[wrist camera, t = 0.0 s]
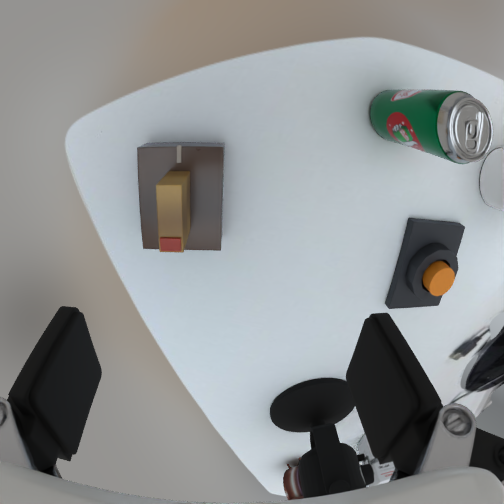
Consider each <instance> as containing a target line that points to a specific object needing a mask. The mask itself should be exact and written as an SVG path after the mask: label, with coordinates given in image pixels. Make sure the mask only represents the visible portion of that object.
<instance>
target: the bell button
mask: <svg viewBox="0 0 504 504" xmlns="http://www.w3.org/2000/svg"><path fill="white" fill-rule="evenodd" d="M454 279H455V274H454V271H453V270H452V269H451V268H450V267H449V266H448V265H447V264H446V263H445V262H443V261H435V262H433V263H432V264H430V265H429V267H428V268H427V269H426V270H425V272H424V274H423V279H422V281H423V285H424V286H425V287H426V288H427V290H428V291H429V292H430V293H431V294H432V295H434V296H440V295H443V294H444V293H446V292H447V291H448V290H449V289H450V288H451V286H452V284H453V282H454Z"/></svg>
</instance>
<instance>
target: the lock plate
mask: <svg viewBox="0 0 504 504" xmlns="http://www.w3.org/2000/svg"><path fill="white" fill-rule="evenodd" d="M224 145H225V144H224V143H209V142H173V143H146V144H144V145H142V146H140V147H138V148H137V152H138V183H139V201H140V216H141V229H142V240H143V249H159V236H158V220H157V200H156V185H157V183H158V182H159V181H160V180H161V179H162V178H163V177H164V176H165V175H166V174H167V172H169V171H190V227H191V229H190V232H189V235H188V239H187V242H186V245H185V249H184V250H221V239H222V202H223V171H224Z"/></svg>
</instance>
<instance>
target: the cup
mask: <svg viewBox="0 0 504 504" xmlns="http://www.w3.org/2000/svg"><path fill="white" fill-rule="evenodd" d="M480 191H481V195H482V198H483V200H484V202H485V203H486V204H487V205H488V206H490V207H493V208H495V209H498V210H501V211H504V149H502V148H498V149H495V150H494V151H492V152H491V153H490V154H489V155H488V157H487V158H486V160H485V162H484V164H483V167H482V170H481V175H480Z"/></svg>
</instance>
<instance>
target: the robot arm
mask: <svg viewBox="0 0 504 504" xmlns="http://www.w3.org/2000/svg"><path fill="white" fill-rule="evenodd" d="M101 373H102V372H101V366H100V364H99V361H98V358H97V355H96V352H95V349H94V346H93V343H92V341H91V337H90V334H89V331H88V328H87V324H86V321H85V318H84V315H83V313H81V312H79V310H78V308H76V307H65V306H62V307H60V308H59V310H58V311H57V313H56V314H55V316H54V318H53V319H52V320H51V322H50V324H49V325H48V327H47V328H46V330H45V331H44V333H43V335H42V336H41V338H40V339H39V341H38V343H37V344H36V346H35V348H34V349H33V351H32V353H31V354H30V356H29V358H28V360H27V361H26V363H25V365H24V367H23V368H22V370H21V372H20V374H19V376H18V377H17V379H16V381H15V383H14V385H13V387H12V388H11V390H10V392H9V394H8V395H9V397H8V399H7V400H6V399H4V398H2V397H0V504H504V439H503V438H500V437H498V436H495V435H493V434H490V433H488V432H485V431H483V430H481V429H478V428H476V420H475V417H474V415H473V413H472V412H471V411H470V410H469V409H468V408H467V407H465V406H463V405H461V404H456V403H452V404H448V405H445V406H444V407H443V405H442V403H441V399H440V398H439V396H438V394H437V392H436V390H435V389H434V387H433V385H432V383H431V382H430V380H429V378H428V377H427V375H426V373H425V371H424V370H423V368H422V366H421V365H420V363H419V361H418V360H417V358H416V356H415V355H414V353H413V351H412V350H411V348H410V347H409V345H408V343H407V342H406V340H405V339H404V337H403V335H402V334H401V332H400V331H399V329H398V327H397V326H396V324H395V323H394V321H393V320H392V318H391V317H390V315H389V314H388V313H375V314H371V315H370V316H369V318H366V319H365V321H364V324H363V327H362V330H361V333H360V336H359V339H358V342H357V345H356V348H355V351H354V353H353V356H352V359H351V362H350V364H349V367H348V370H347V373H346V381H347V384H348V387H349V389H350V392H351V395H352V398H353V400H354V403H355V406H356V409H357V412H358V415H359V417H360V420H361V423H362V426H363V429H364V432H365V435H366V438H367V440H368V443H369V446H370V449H371V452H372V455H373V457H374V458H378V461H379V464H380V465H381V464H385V463H389V462H393V464H394V467H395V470H394V472H393V474H392V476H391V478H390V480H389V482H387V483H383V484H379V485H375V486H371V487H366V488H362V489H357V490H353V491H348V492H343V493H337V494H331V495H325V496H319V497H312V498H304V499H295V500H285V501H273V502H256V503H204V502H188V501H187V502H186V501H174V500H166V499H157V498H149V497H142V496H136V495H129V494H124V493H119V492H114V491H109V490H104V489H100V488H96V487H91V486H87V485H83V484H79V483H75V482H72V481H68V480H64V479H62V477H61V475H60V473H59V471H58V469H57V467H56V461H57V458H60V459H64V460H67V461H71V457H72V454H76V452H77V450H78V447H79V443H80V440H81V437H82V433H83V430H84V427H85V423H86V420H87V417H88V414H89V411H90V408H91V405H92V402H93V399H94V396H95V393H96V390H97V388H98V384H99V382H100V379H101Z"/></svg>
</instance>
